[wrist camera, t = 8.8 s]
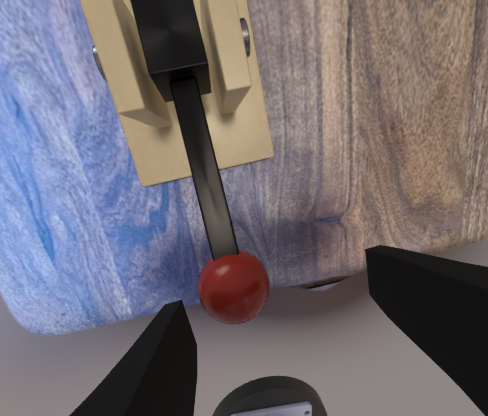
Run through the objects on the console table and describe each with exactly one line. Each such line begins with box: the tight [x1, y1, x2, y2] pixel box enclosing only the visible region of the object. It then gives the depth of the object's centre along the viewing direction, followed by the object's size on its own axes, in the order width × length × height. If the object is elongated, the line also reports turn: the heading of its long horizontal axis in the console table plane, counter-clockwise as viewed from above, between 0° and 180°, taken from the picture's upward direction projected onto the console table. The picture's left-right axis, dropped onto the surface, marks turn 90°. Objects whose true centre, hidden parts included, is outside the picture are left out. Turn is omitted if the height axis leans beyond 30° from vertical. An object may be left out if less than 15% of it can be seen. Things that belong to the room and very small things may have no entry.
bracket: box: [80, 0, 274, 187], centre depth 12 cm, size 11×9×8 cm
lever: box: [130, 0, 269, 324], centre depth 10 cm, size 13×3×3 cm, turn 12°
